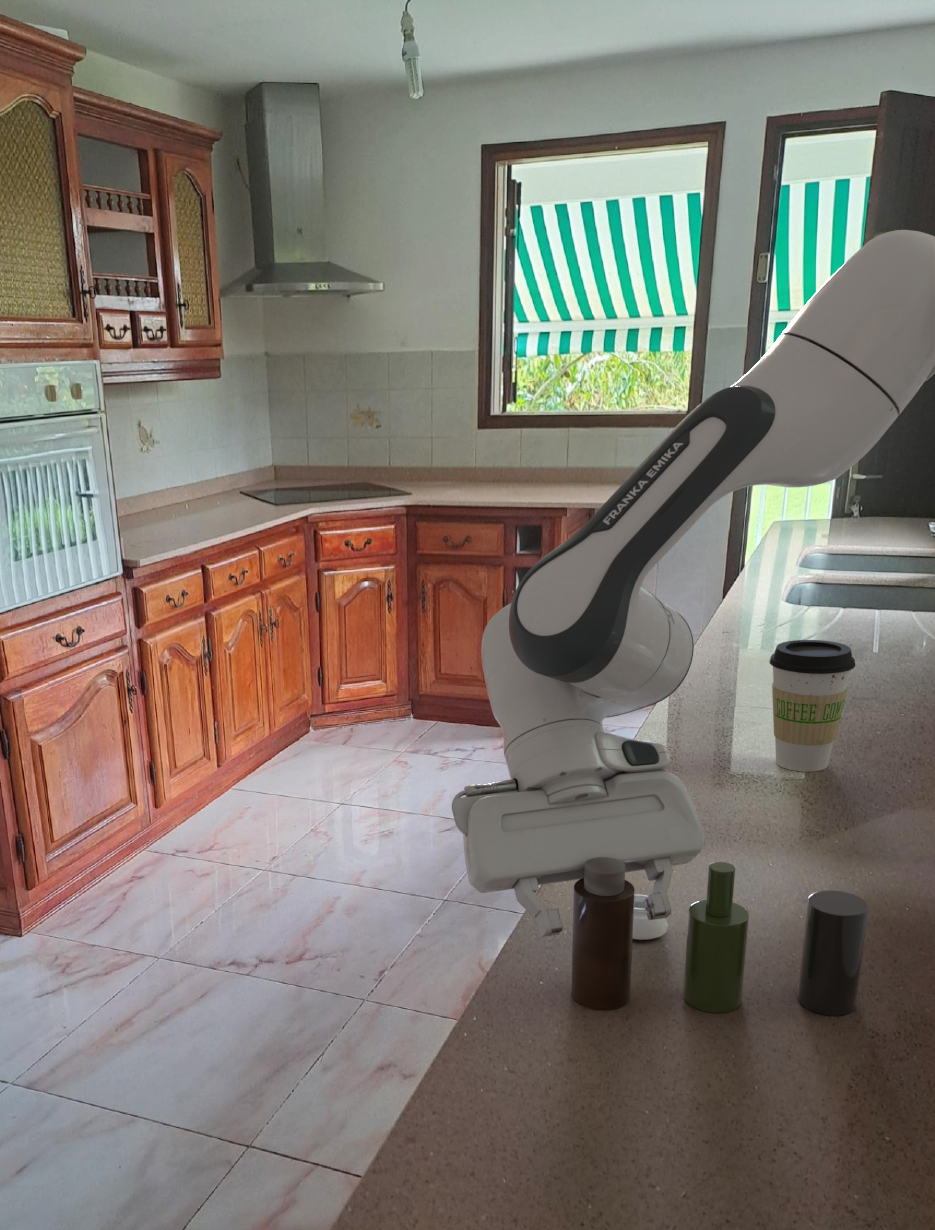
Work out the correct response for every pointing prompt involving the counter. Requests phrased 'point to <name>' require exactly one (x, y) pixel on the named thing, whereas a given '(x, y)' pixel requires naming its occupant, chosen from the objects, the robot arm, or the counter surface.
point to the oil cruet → (716, 945)
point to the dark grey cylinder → (832, 952)
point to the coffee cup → (808, 700)
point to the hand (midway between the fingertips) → (606, 925)
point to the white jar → (646, 922)
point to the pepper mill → (602, 935)
